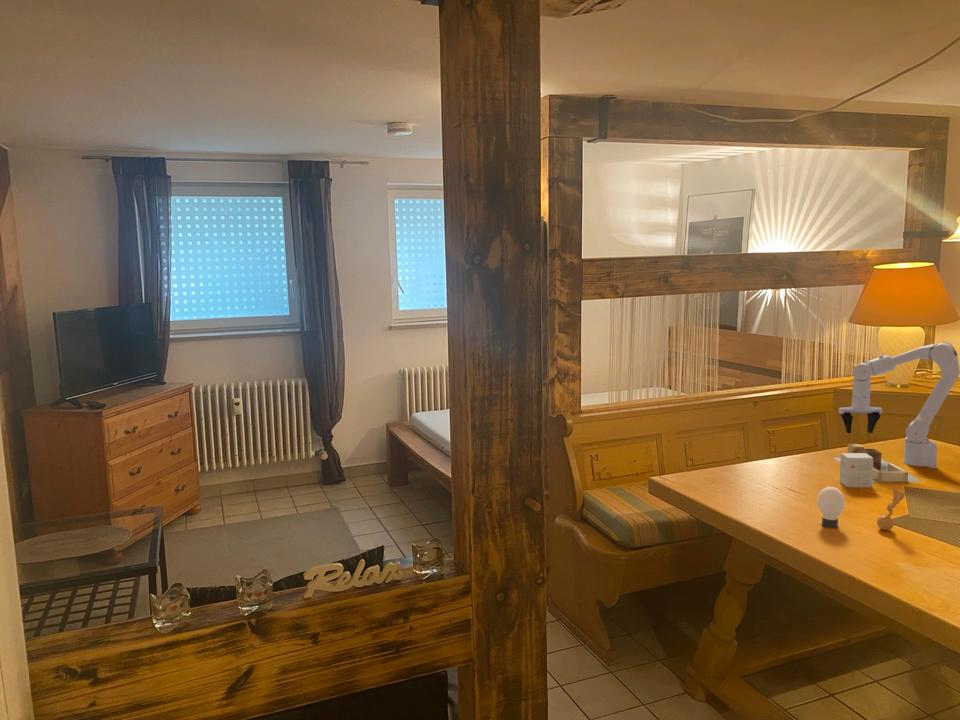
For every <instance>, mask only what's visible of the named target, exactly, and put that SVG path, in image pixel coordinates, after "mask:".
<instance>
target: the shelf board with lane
mask: <svg viewBox="0 0 960 720" xmlns="http://www.w3.org/2000/svg"><path fill="white" fill-rule="evenodd" d="M833 460H836V461H837V462H839V463H841V457H833ZM907 482H908V483H911V482H912V483H915V482H916V483H920V482H922V481H921V480H920V479H918V478H916V477H914V476H912V475H910V474H909V471H907V470H904V469H903V468H902V467H899V466H897V465H896V464H893V463H889V462H887V461H885V460H884V459H882V458H881V470H877V469H875V468H874V467H873V477H872V483H907Z"/></svg>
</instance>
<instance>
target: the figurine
mask: <svg viewBox="0 0 960 720" xmlns="http://www.w3.org/2000/svg"><path fill="white" fill-rule="evenodd" d="M892 493H893V496H892V500H891V501H892V502H889V504H887V507H886V510H887V511H888V512H889V513H887V514H885V515H880V516H879V517H878V518H877V520H876V524H877V527H878V528H879V529H880V530H882V531H890V530H892V529H893V528H894V525H895V523H894V520H893V518H891V516H892V515H893V511H894V510H893V509H894V508H895V507H897V505H898V504H899V503H900V502H901V501H902V500H903V499H904V497H905V492H903V491H901V490H899V489H897V488H893V490H892Z"/></svg>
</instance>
